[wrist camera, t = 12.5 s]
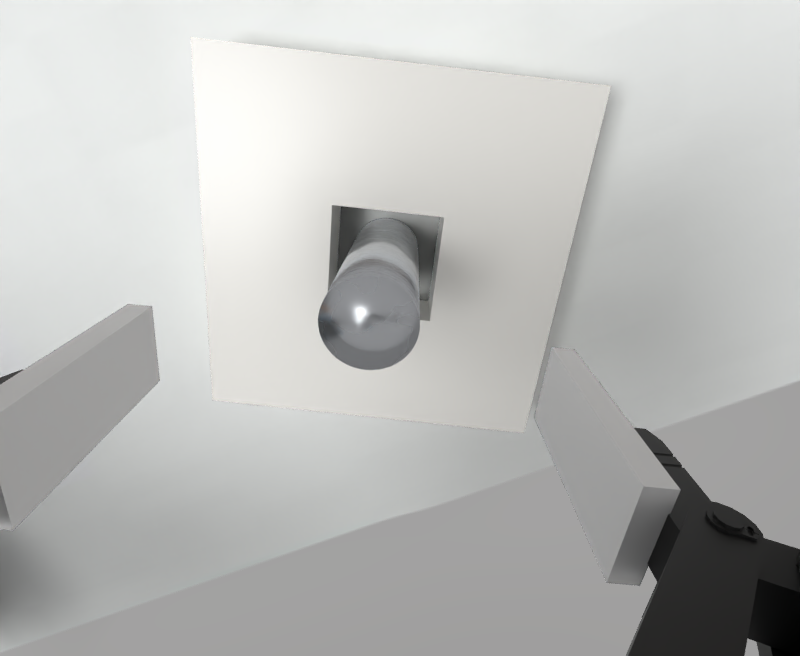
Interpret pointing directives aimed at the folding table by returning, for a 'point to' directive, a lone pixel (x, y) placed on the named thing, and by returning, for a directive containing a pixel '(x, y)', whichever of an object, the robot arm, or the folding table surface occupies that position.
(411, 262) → the steel pin
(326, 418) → the folding table surface
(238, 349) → the socket block
